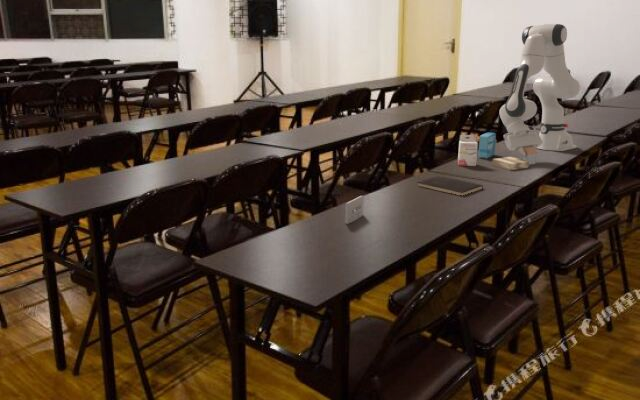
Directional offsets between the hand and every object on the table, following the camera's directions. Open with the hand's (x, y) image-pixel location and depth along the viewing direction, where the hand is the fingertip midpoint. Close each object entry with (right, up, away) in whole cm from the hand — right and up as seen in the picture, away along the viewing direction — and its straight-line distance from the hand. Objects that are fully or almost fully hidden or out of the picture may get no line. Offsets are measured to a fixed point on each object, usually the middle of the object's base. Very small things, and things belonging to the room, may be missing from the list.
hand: (530, 154), depth 292 cm
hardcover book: (-49, -18, -37) cm, 63 cm away
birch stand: (-11, -6, -3) cm, 13 cm away
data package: (-17, 0, +18) cm, 25 cm away
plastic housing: (0, -4, +2) cm, 5 cm away
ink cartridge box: (-32, -5, +1) cm, 32 cm away
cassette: (-92, -30, -76) cm, 123 cm away
